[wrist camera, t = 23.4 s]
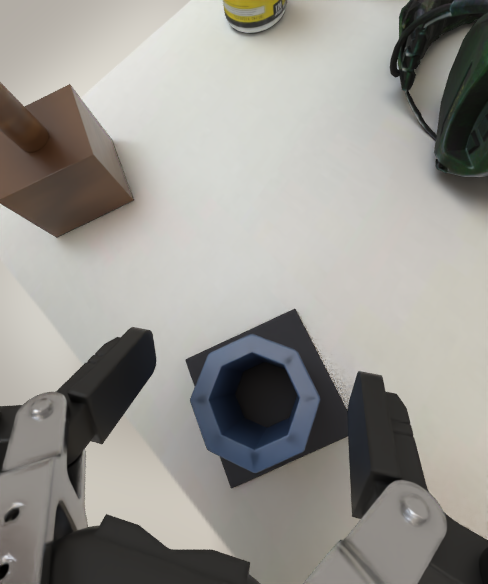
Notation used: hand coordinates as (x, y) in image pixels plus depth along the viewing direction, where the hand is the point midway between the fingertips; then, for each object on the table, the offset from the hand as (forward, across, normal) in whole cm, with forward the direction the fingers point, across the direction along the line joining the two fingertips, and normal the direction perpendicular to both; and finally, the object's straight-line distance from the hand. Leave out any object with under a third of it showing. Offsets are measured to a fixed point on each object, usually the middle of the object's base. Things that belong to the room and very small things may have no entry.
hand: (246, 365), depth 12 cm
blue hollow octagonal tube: (+6, 0, +8) cm, 10 cm away
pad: (+7, 0, +8) cm, 11 cm away
